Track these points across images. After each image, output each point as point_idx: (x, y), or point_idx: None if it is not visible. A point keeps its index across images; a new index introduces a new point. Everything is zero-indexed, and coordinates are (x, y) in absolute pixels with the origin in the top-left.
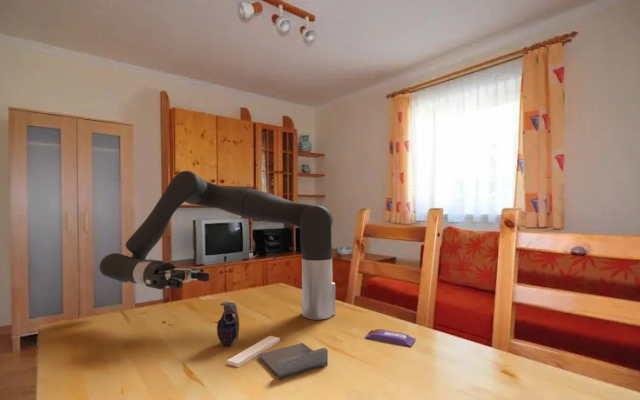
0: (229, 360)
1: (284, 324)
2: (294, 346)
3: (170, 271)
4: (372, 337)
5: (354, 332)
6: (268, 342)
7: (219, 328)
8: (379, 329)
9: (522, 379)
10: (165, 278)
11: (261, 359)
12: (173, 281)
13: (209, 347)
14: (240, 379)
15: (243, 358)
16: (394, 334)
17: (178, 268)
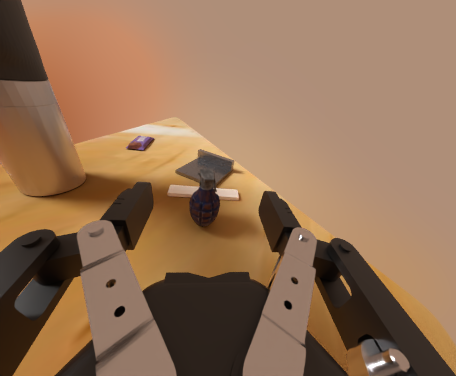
0: (237, 196)
1: (106, 200)
2: (185, 172)
3: (262, 311)
4: (144, 147)
5: (129, 155)
6: (186, 187)
7: (219, 204)
8: (131, 142)
9: (178, 125)
10: (315, 240)
11: (217, 183)
12: (288, 207)
13: (221, 235)
14: (247, 184)
15: (227, 190)
16: (141, 138)
17: (124, 370)
